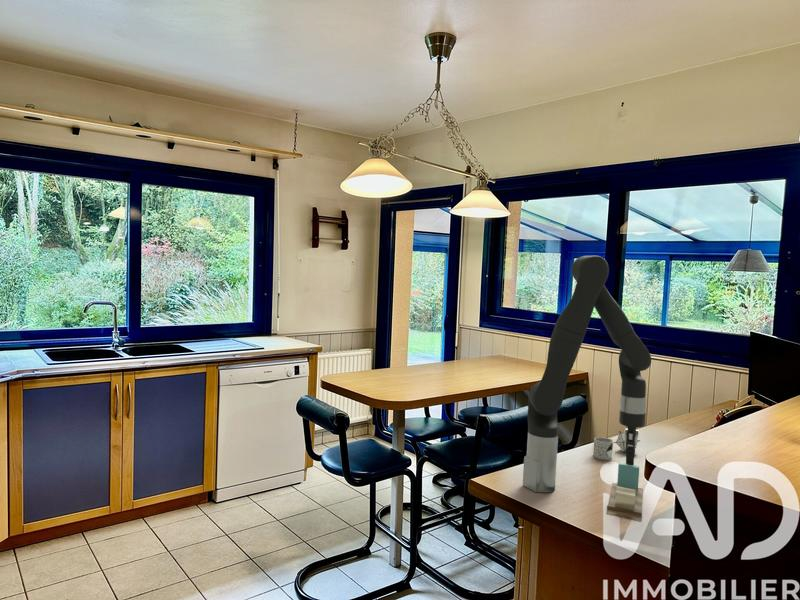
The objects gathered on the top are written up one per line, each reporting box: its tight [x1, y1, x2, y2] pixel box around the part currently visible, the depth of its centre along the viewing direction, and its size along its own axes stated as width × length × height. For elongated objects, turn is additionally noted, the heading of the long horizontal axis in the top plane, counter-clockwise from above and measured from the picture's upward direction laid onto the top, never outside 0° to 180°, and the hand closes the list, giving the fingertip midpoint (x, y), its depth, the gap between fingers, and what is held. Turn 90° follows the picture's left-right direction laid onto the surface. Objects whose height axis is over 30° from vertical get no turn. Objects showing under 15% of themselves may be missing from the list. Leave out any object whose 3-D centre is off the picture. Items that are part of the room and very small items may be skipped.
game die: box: [613, 430, 641, 454], centre depth 204 cm, size 9×8×10 cm
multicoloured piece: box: [605, 462, 644, 523], centre depth 154 cm, size 26×9×8 cm, turn 154°
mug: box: [592, 436, 614, 461], centre depth 198 cm, size 10×7×7 cm
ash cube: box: [615, 486, 636, 511], centre depth 149 cm, size 5×5×5 cm
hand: (630, 460), depth 165 cm, fingers open, 8 cm apart
